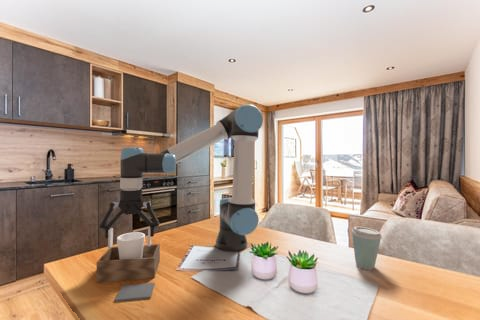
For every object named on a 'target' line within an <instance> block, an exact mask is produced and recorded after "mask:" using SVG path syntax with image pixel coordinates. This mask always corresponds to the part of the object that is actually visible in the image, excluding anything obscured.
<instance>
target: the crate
mask: <svg viewBox="0 0 480 320" xmlns="http://www.w3.org/2000/svg"><path fill="white" fill-rule="evenodd" d="M160 252H161V244H160V243H155V244H153V243H151V245H150V246H148V244H144V247H143V254H142V258H136V259H122V260H120V258H119V251H118V246H112V247H111V248H107V250H106V251H105V252H104V253H103V255H102V256H101V257H100V258H99V259H98V260H97V261H96V283H97V284H99V283H100V284H101V283H107V282H108V283H109V282H110V283H111V282H121V281H134V280H143V279H146V280H147V279H155V278H156V274H157V271H158V268H159V265H160V262H161V261H160V259H161V258H160V257H161V253H160Z"/></svg>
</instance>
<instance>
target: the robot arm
mask: <svg viewBox="0 0 480 320" xmlns="http://www.w3.org/2000/svg"><path fill="white" fill-rule="evenodd" d="M263 123H264V117H263V113H262V111H261V110H260V109H259V108H258V107H257V106H256V105H253V104H244V105H243V104H242V105H240V106H238V107H237V108H236V109H234V110H233V111H231V112H230V113H229V114H227V115H226V116H224V117H223V118H222V119H219V120H218V121H216V124H215V125H213V126H210V127H208V128H206V129H205V130H203V131H201V132H198V133H196V134H194V135H193V136H190V137H189V138H187V139H184V140H182V141H181V142H179V143H176V144H174V145H172V146H170V147H168V148H166V149H164V150H163V151H161V152H158V153H154V152H153V153H149V152H148V153H147V152H144V149H143V148H142V147H131V146H130V147H129V146H127V147H123V148H122V149H121V151H120V153H121V154H120V172H119V173H120V176H119V177H120V181H119V183H120V184H119V188H120V191H119V202H117V201H112V202H110V204H109V208H108V211H107V212H106V214H105V216H104V218H103V220H102V221H101V224H100V225H99V228H100V229H104V230H105V236H104V237H105V239H107V249H109V248H111V247H114V246H113V244H114V241H113V240H114V228H113V227H112V226H113V225H115V223H116V222H117V221H118V220H119V219H120V218H121V217H122V216H123V214H124V215H136V214H137V216H139V217H140V218H141V219H142V220H143V222H144V223H146V224H147V226H148V228H147V229H148V230H147V245H148V246H150V245H152V237H154V236H155V228H158V227H159V226H160V220H159V219H158V217H157V214H156V213H155V211H154V209H153V207H152V201H150V200H149V201H143V189H142V188H143V177H144V174H166V175H167V174H174V173H175V172H176V166H177V164H178V163H180V162H182V161H185V160H186V159H188V158H190V157H192V156H194V155H195V154H199V152H201V151H203V150H205V149H208V148H209V147H211V146H213V145H215V144H217V143H218V142H221V141H223V140H226V141H227V140H228V139H232V140H233V141H234V142H233V143H234V145H233V146H234V148H233V168H232V170H233V171H232V191H231V192H232V193H231V194H232V195H231V197H224V198H221V199H220V201H219V231H218V234H217V237H216V240H215V247H216V248H217V249H219V250H222V251H225V252H236V251H241V250H244V249H246V248H247V246H248V240H247V235H250V234H252V233H253V232H254V231H255V230H256V229H257V227H258V225H259V221H260V220H259V218H260V217H259V215H258V213H257V212H256V201H255V199H254V198H253V185H254V184H253V182H254V180H253V179H254V161H255V160H254V159H255V155H254V154H255V143H256V141H257V140H258V139H259V131H260V129H261V128H262V126H263ZM143 206H144V208H145V209H146V210H147V211H148V214H149V216H150V217H149V216H148V215H147V214H146V213H145V212H144V210H143V209H142V208H143ZM117 208H119V209H120V211H119V212H118V213H117V214H116V215H115V216H114V218H113V219H112V220H111V221H110V222H109V220H110V218H111V216H112V215H113V213H114V212H115V211H114V210H115V209H117ZM150 218H151V219H152V220H151V219H150ZM107 223H108V224H107Z"/></svg>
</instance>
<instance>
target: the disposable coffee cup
mask: <svg viewBox="0 0 480 320" xmlns="http://www.w3.org/2000/svg"><path fill="white" fill-rule="evenodd" d="M351 234H352V235H351V236H352V241H353V242H352V243H353V244H352V245H353V251H354V258H355V259H354V260H355V264H356V266H357V267H359V268H360V269H364V270H367V271H369V270H371V271H372V270H374V269H375V267H376V263H377V257H378V252H379V247H380V243H381V239H382V233H381V232H380V231H378V230H376V229H373V228H370V227H365V226H353V228H352V230H351Z"/></svg>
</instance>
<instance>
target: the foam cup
mask: <svg viewBox="0 0 480 320" xmlns="http://www.w3.org/2000/svg"><path fill="white" fill-rule="evenodd" d="M145 242H146V234H145V233H143V232H139V231H136V232H127V233H123V234H120V235H118V236H117V237H116V245H117V247H118V251H119V258H120V260H122V259H136V258H142V254H143V247H144V245H145Z"/></svg>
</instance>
